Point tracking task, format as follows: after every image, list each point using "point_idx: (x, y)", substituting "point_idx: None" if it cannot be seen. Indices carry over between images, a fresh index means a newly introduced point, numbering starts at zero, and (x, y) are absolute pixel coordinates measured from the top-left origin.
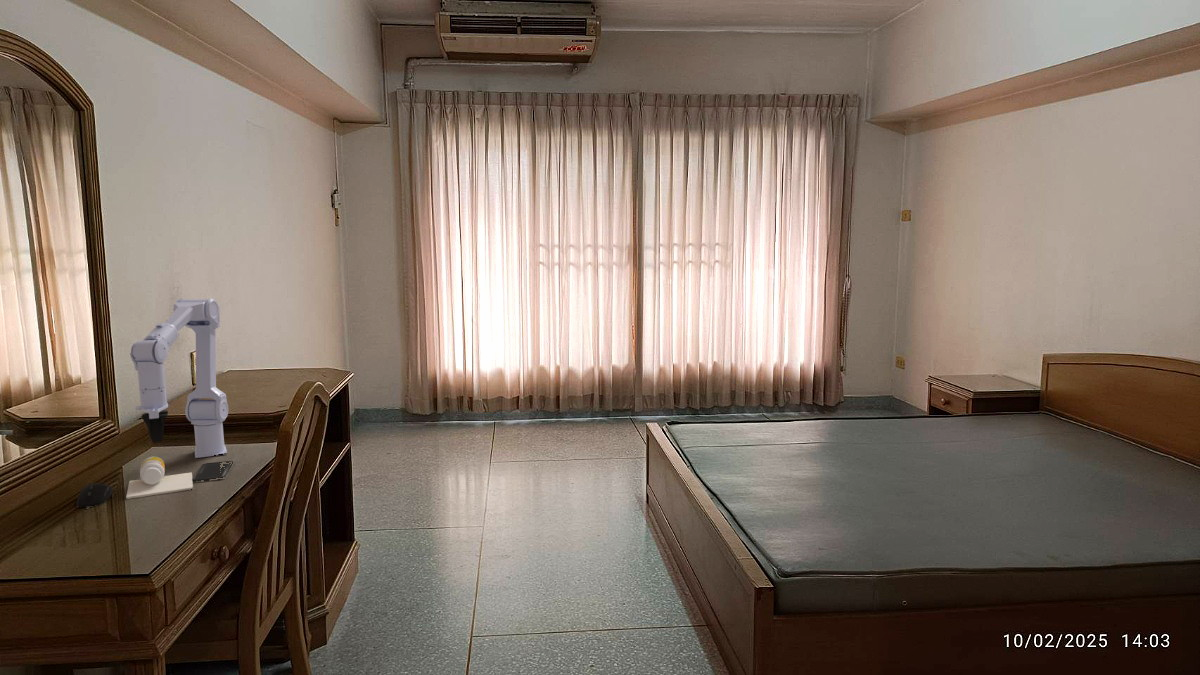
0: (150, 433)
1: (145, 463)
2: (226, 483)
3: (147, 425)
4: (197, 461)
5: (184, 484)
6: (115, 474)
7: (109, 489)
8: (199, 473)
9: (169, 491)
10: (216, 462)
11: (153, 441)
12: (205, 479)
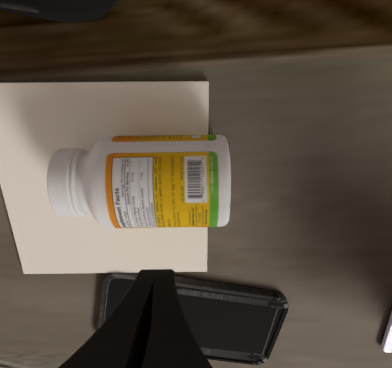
0: (116, 308)
1: (126, 176)
2: (57, 339)
3: (68, 361)
4: (361, 280)
5: (67, 254)
6: (389, 12)
7: (27, 13)
8: (177, 290)
9: (10, 214)
10: (277, 330)
11: (137, 275)
12: (100, 302)
